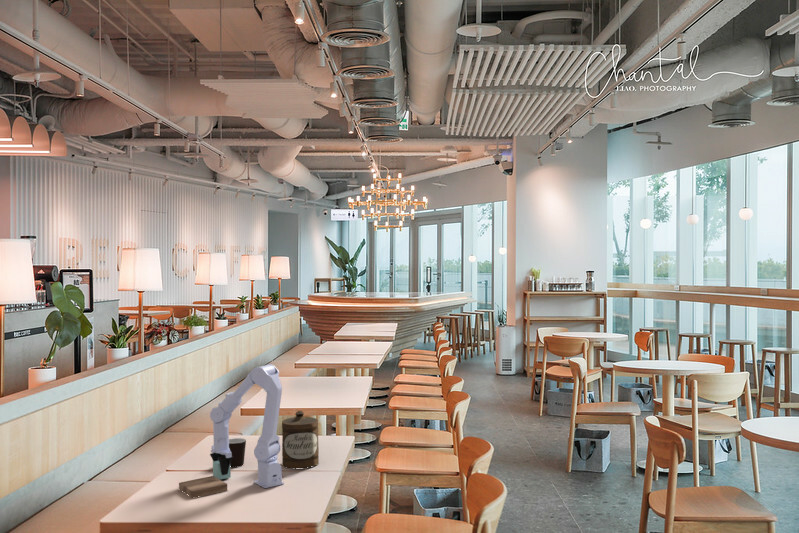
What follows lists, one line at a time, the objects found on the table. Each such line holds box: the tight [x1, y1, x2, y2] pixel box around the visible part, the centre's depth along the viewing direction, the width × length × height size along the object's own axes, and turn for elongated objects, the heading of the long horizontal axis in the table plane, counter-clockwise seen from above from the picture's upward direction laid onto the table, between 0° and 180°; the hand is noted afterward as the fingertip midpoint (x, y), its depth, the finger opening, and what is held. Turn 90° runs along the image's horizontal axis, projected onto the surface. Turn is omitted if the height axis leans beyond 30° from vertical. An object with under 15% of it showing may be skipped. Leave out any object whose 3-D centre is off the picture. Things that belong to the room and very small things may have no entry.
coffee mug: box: [229, 437, 247, 468], centre depth 281 cm, size 12×9×10 cm
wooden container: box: [281, 410, 320, 470], centre depth 279 cm, size 15×15×22 cm
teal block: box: [212, 460, 232, 480], centre depth 261 cm, size 5×5×6 cm
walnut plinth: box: [178, 475, 228, 499], centre depth 247 cm, size 13×13×2 cm
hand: (221, 472), depth 261 cm, fingers closed on teal block, 5 cm apart
